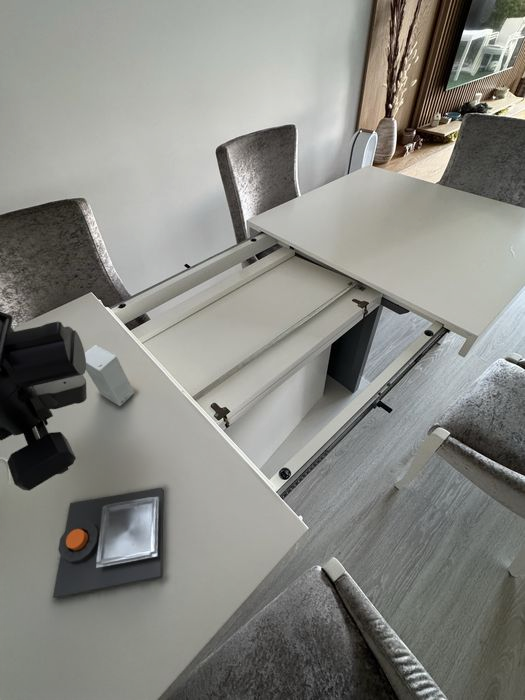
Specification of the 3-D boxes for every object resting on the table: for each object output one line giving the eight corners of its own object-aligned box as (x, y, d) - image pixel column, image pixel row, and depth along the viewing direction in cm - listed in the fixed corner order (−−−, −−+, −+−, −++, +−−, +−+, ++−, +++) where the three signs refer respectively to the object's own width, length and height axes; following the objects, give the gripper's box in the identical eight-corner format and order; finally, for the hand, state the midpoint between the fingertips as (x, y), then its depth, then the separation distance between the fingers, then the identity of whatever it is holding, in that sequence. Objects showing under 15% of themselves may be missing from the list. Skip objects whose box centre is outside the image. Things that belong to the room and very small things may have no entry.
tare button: (68, 552, 52) (63, 549, 50) (71, 533, 53) (67, 530, 52) (86, 548, 52) (82, 546, 51) (89, 530, 54) (85, 527, 52)
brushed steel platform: (96, 568, 50) (93, 567, 49) (104, 506, 55) (101, 504, 55) (157, 556, 51) (155, 555, 50) (159, 497, 56) (157, 494, 55)
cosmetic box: (135, 392, 73) (117, 356, 64) (120, 407, 71) (99, 371, 62) (115, 380, 75) (95, 343, 66) (100, 394, 73) (76, 358, 64)
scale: (57, 598, 50) (47, 596, 48) (73, 505, 58) (65, 499, 56) (162, 577, 52) (157, 574, 49) (163, 490, 60) (159, 483, 58)
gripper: (92, 403, 38) (132, 461, 50) (41, 313, 48) (84, 379, 60) (-20, 464, 34) (53, 512, 45) (-52, 351, 43) (15, 415, 55)
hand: (54, 447), depth 51 cm, fingers open, 9 cm apart
